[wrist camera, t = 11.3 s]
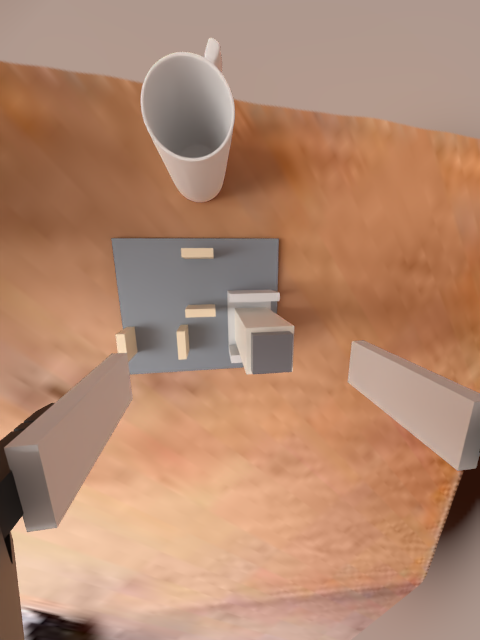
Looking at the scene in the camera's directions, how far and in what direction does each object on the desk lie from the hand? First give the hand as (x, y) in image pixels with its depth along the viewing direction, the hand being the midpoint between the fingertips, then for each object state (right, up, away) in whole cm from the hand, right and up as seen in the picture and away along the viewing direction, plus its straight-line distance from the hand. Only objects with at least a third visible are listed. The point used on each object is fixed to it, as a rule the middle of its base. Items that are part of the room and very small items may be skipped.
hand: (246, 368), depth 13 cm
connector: (+1, +2, +19) cm, 19 cm away
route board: (-6, +5, +18) cm, 20 cm away
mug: (-5, +22, +15) cm, 27 cm away
